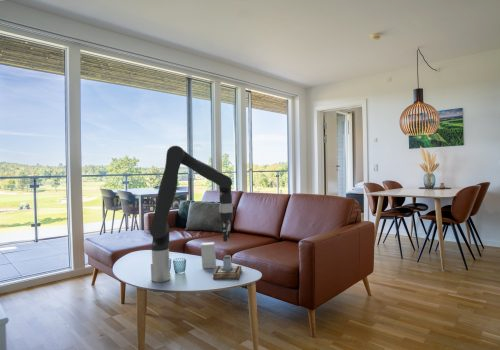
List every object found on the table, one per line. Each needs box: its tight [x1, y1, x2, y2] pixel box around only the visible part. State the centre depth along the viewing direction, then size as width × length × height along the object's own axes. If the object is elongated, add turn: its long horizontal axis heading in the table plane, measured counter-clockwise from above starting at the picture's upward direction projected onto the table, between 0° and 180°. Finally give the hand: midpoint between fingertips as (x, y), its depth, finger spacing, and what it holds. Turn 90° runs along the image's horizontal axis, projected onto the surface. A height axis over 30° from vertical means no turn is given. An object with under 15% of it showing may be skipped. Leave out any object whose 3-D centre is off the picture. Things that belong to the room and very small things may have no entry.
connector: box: [222, 254, 233, 271], centre depth 187 cm, size 4×4×10 cm
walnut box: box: [212, 265, 242, 280], centre depth 187 cm, size 14×14×3 cm
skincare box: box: [200, 241, 217, 270], centre depth 202 cm, size 8×6×15 cm
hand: (226, 239), depth 187 cm, fingers open, 8 cm apart
